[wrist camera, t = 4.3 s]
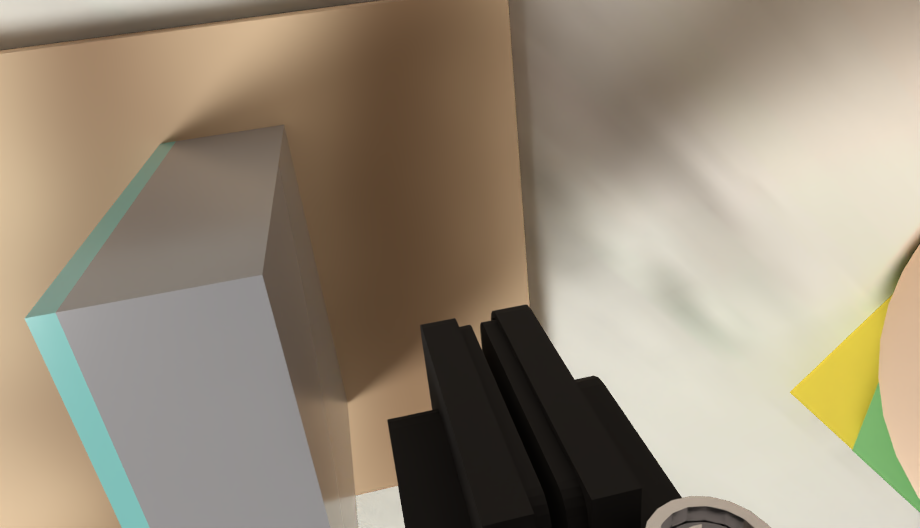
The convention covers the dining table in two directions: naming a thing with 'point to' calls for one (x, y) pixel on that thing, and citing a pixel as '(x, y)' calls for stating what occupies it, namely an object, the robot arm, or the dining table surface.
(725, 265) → the dining table surface
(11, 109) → the mat
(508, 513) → the robot arm
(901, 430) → the hamburger
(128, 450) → the tile
